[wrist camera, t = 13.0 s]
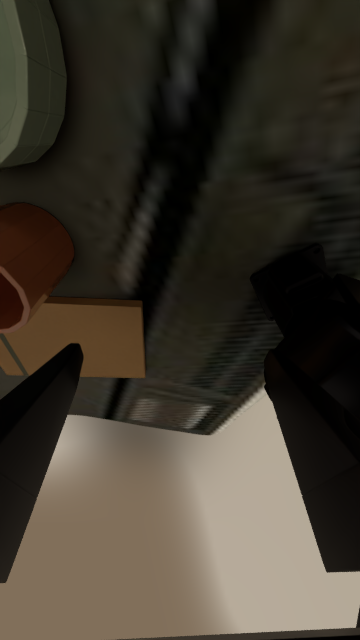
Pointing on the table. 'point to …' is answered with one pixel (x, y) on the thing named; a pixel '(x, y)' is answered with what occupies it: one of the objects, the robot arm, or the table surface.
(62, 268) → the cup
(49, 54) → the bowl
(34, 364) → the notebook
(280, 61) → the table surface
